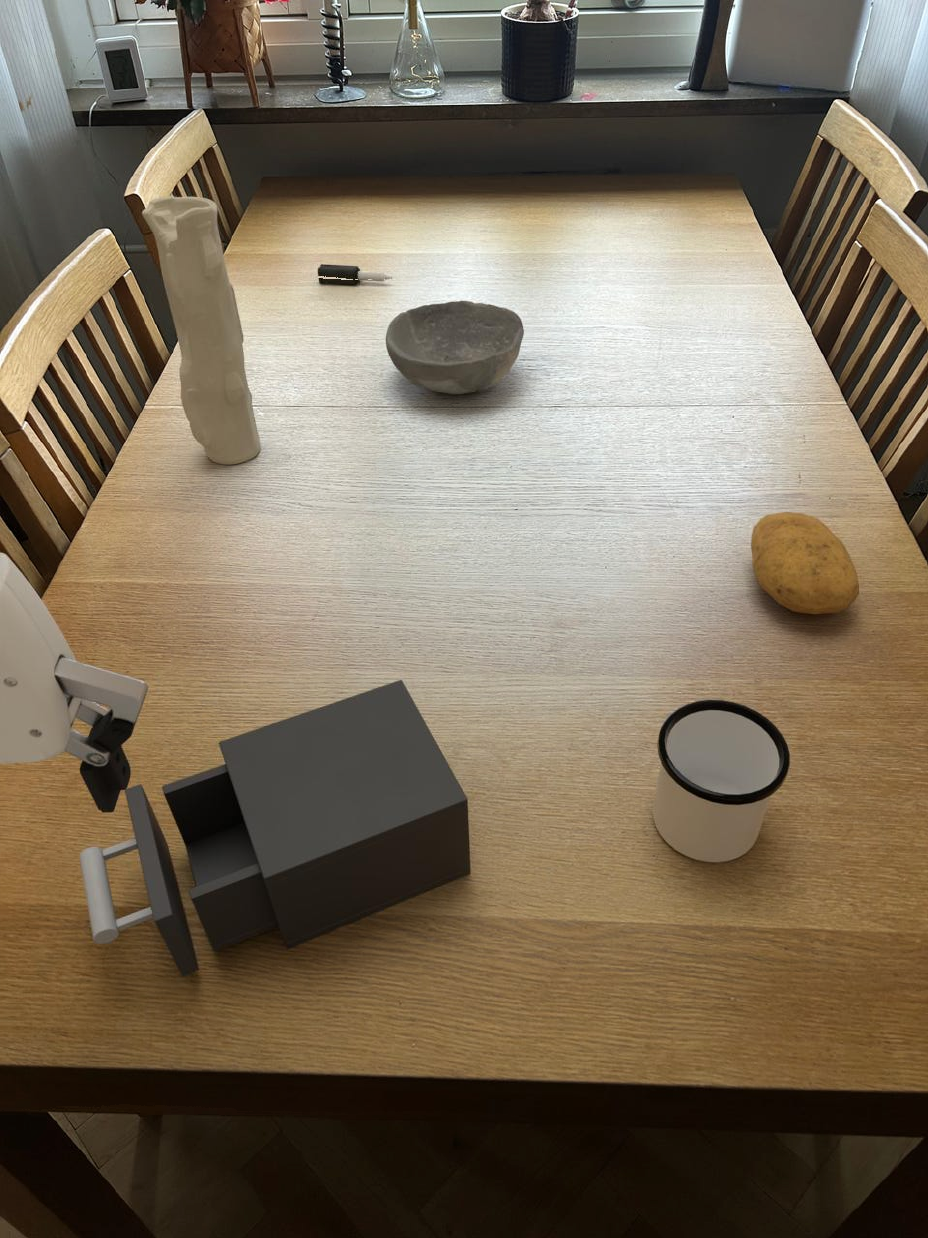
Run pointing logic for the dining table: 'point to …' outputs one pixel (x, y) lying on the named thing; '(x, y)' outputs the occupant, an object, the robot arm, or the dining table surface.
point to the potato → (803, 564)
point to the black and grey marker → (348, 274)
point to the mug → (716, 778)
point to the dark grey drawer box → (348, 810)
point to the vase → (205, 327)
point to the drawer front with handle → (218, 863)
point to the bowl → (455, 345)
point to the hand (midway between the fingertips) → (29, 793)
